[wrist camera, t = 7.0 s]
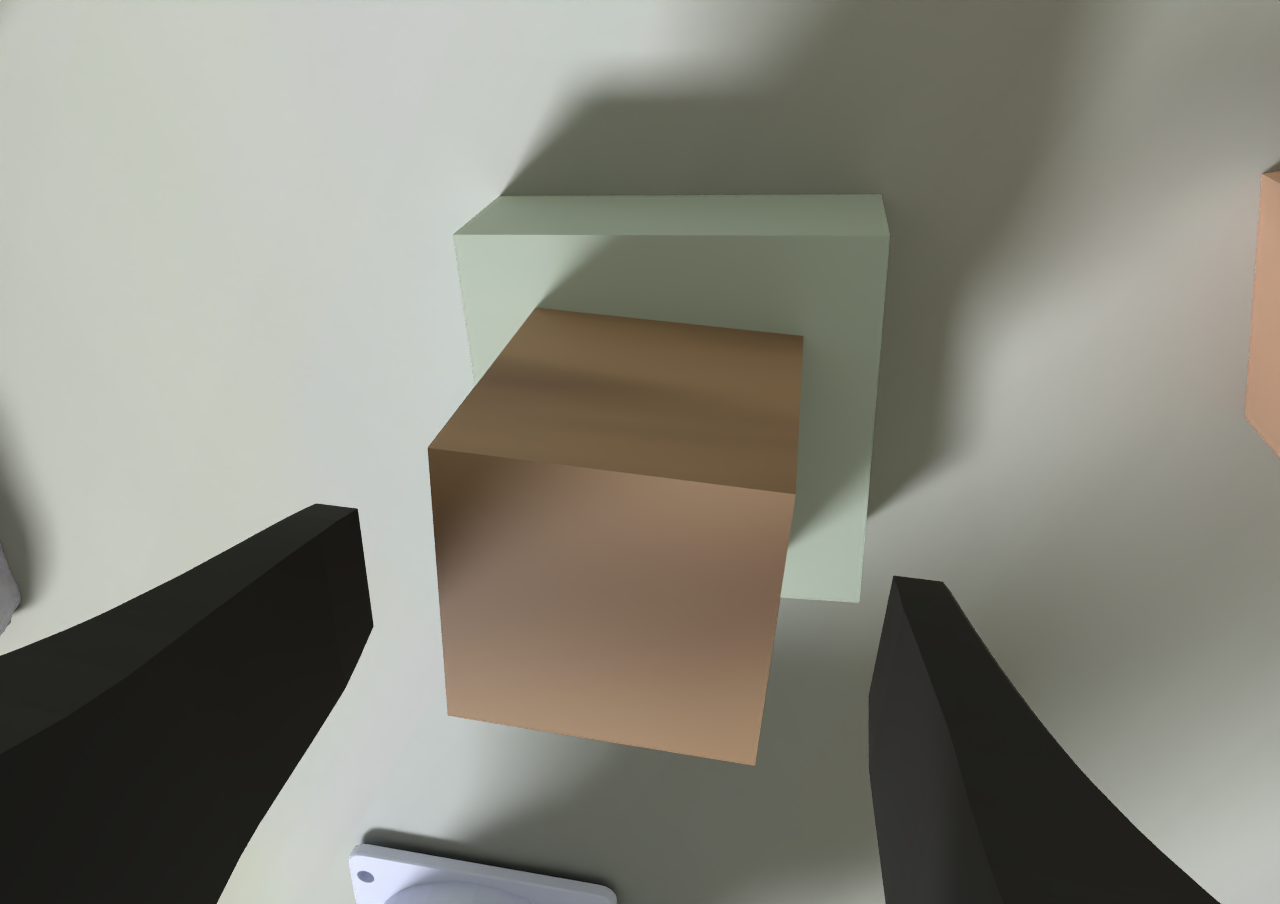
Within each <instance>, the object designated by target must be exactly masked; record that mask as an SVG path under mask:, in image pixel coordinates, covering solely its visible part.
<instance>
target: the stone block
mask: <svg viewBox="0 0 1280 904" xmlns="http://www.w3.org/2000/svg"><path fill="white" fill-rule="evenodd" d="M20 601H21V595H20V592H19V589H18V585H17V583H16V581H15V579H14V577H13V576H12V574H11V571H10V568H9V566H8V563H7V561H6V557H5V555H4V552H3V548H2V545H1V543H0V636H1V634H2V633H3V632H4V631H5V629H6V627H7V626H8V625H9V624H10V623H11V617H12V613H13V612H14V611H15V609H16V608H17V607H18V605H19V603H20Z"/></svg>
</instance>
